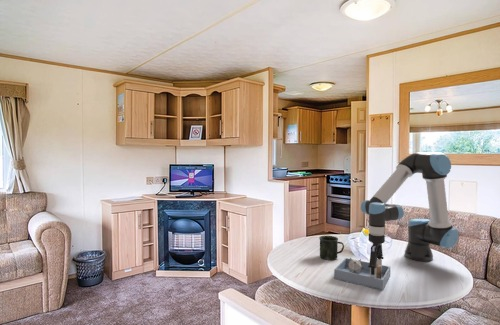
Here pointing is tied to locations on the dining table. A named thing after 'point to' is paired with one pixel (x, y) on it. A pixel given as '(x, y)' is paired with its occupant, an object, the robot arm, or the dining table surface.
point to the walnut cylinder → (378, 271)
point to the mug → (329, 247)
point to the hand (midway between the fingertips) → (375, 275)
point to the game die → (355, 266)
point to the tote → (362, 275)
